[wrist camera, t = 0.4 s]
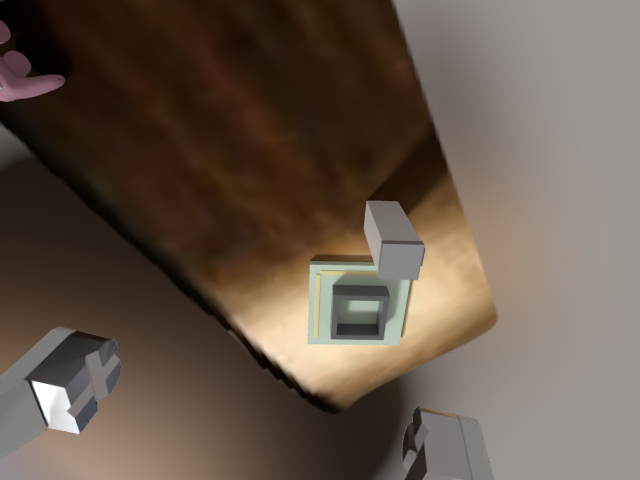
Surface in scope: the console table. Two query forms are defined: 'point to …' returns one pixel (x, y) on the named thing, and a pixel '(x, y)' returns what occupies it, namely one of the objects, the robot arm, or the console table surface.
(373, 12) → the console table surface
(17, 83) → the video game controller
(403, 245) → the plug
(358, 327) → the board
